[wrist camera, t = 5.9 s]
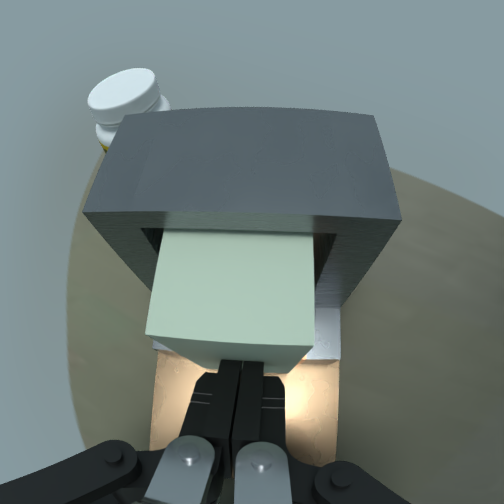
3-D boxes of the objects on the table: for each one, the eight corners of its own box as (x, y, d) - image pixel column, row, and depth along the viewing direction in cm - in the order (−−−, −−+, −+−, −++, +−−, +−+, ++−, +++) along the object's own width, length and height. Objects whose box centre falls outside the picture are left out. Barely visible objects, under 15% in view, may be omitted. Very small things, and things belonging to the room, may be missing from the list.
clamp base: (328, 474, 13) (415, 558, 3) (156, 461, 13) (29, 511, 4) (328, 219, 19) (368, 75, 10) (187, 215, 20) (138, 75, 10)
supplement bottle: (123, 171, 22) (81, 84, 15) (179, 148, 23) (154, 55, 15) (134, 217, 20) (80, 125, 13) (198, 191, 21) (170, 89, 13)
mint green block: (288, 373, 14) (314, 345, 7) (204, 368, 14) (144, 334, 7) (291, 226, 18) (304, 112, 10) (220, 224, 18) (195, 112, 11)
